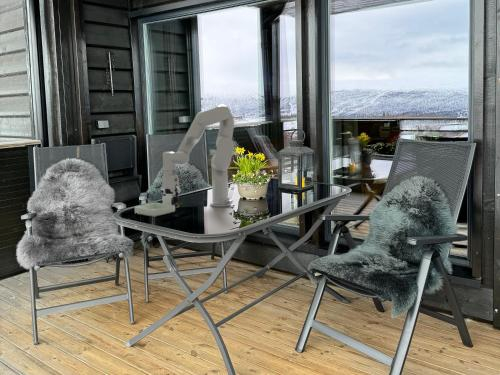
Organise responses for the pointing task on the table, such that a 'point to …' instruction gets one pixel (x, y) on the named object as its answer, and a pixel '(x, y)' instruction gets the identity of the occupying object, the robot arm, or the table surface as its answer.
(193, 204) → the table surface
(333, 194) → the table surface
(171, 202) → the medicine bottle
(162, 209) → the tray
